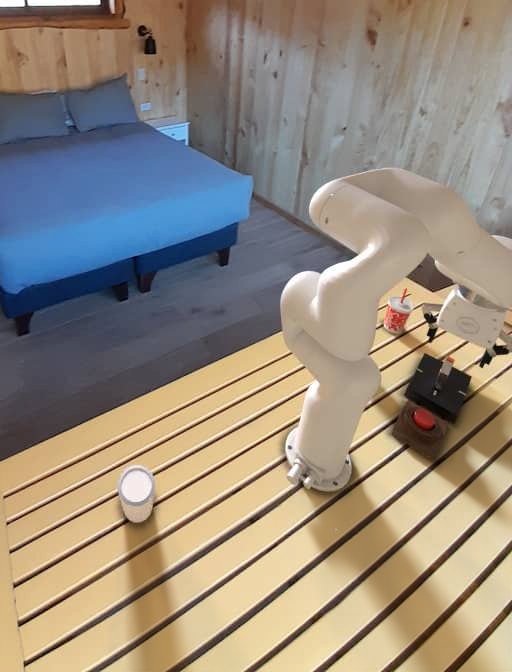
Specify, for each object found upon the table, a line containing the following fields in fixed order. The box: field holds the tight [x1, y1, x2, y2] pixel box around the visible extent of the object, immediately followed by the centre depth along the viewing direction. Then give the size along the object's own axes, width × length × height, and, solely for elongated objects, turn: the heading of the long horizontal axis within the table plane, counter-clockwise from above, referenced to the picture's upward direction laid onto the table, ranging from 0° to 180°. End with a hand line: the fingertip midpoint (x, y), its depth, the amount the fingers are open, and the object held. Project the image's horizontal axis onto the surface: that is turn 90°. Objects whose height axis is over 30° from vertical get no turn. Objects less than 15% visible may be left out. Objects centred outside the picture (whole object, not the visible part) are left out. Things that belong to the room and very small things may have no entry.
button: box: [413, 408, 435, 430], centre depth 85 cm, size 4×4×2 cm
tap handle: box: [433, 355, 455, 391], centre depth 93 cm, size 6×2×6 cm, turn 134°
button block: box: [390, 398, 449, 462], centre depth 86 cm, size 10×8×4 cm
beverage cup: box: [383, 288, 415, 335], centre depth 110 cm, size 6×6×14 cm
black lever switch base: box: [403, 352, 473, 425], centre depth 95 cm, size 14×10×3 cm
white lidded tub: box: [117, 464, 156, 523], centre depth 74 cm, size 7×7×7 cm
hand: (455, 351), depth 90 cm, fingers open, 9 cm apart
